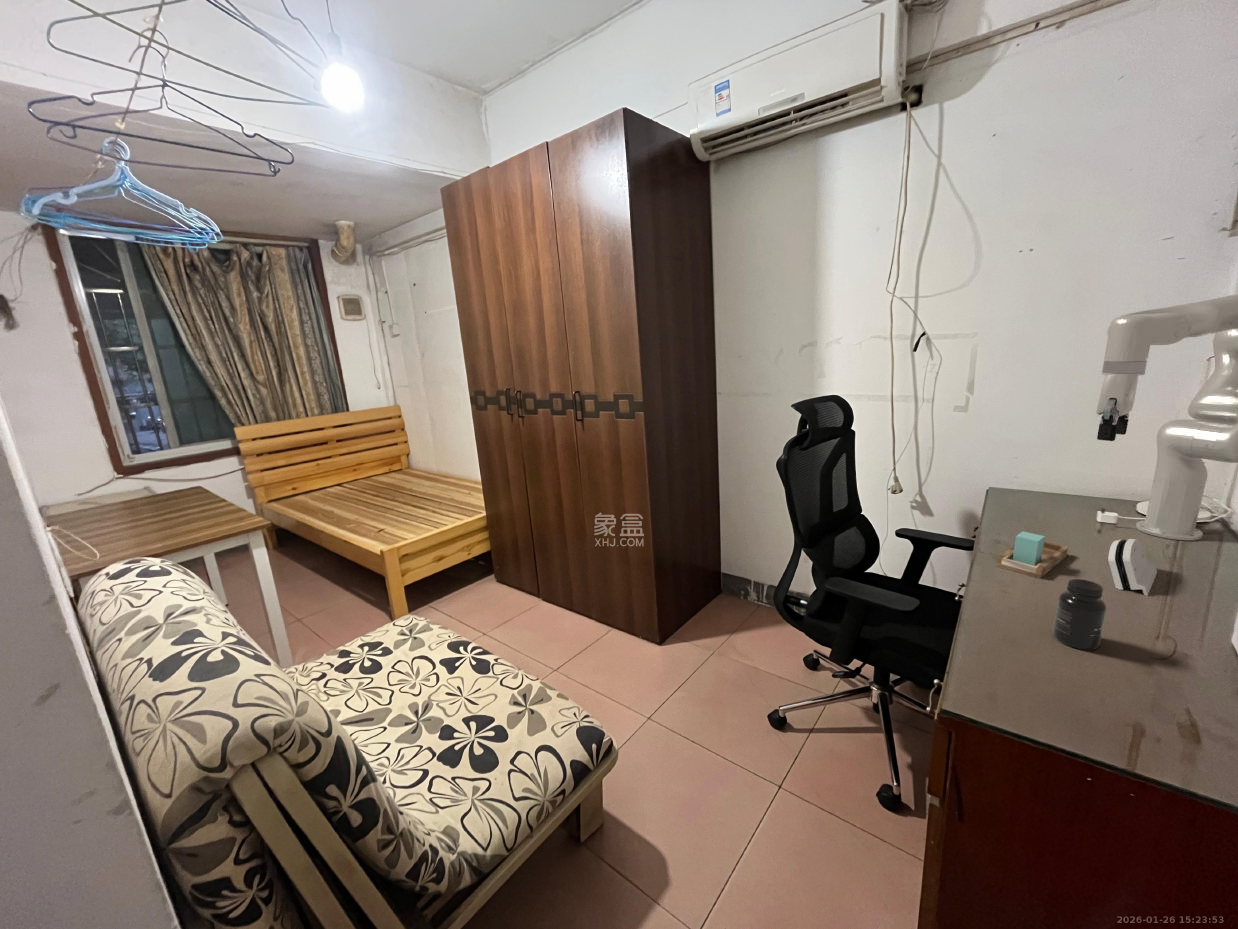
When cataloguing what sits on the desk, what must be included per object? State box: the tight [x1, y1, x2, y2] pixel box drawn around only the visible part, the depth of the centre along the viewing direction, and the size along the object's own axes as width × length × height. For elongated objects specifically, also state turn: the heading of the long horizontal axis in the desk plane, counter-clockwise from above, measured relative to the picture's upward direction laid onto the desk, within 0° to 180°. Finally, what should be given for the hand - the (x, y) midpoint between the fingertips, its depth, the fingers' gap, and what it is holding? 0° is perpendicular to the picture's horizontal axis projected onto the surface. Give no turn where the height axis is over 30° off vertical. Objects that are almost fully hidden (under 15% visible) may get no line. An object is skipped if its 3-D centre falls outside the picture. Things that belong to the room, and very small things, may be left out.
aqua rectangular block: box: [1013, 530, 1046, 566], centre depth 126 cm, size 4×4×7 cm
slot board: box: [995, 541, 1069, 579], centre depth 129 cm, size 19×9×2 cm, turn 125°
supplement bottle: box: [1052, 578, 1108, 651], centre depth 96 cm, size 7×7×12 cm
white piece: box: [1107, 538, 1158, 597], centre depth 117 cm, size 17×5×10 cm, turn 129°
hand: (1111, 437), depth 126 cm, fingers open, 9 cm apart
